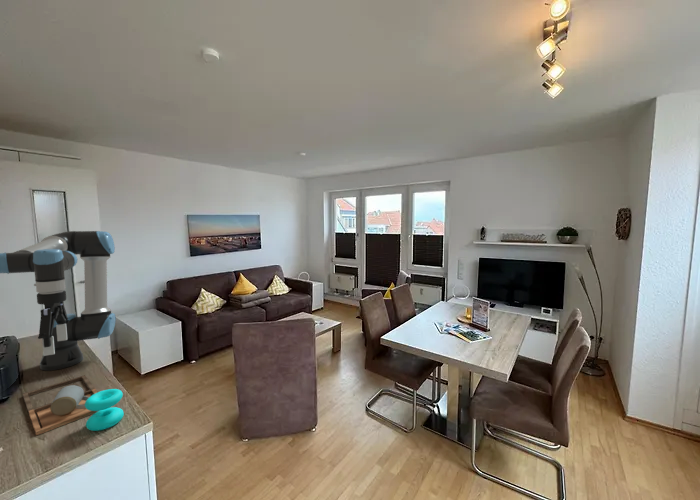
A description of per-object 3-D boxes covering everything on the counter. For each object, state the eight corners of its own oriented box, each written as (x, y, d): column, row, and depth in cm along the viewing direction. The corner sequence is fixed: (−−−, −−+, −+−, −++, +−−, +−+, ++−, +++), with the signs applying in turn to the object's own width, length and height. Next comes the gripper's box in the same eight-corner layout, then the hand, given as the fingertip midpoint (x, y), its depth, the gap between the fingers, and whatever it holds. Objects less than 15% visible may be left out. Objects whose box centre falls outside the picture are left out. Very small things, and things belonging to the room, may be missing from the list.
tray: (22, 396, 116) (22, 393, 116) (84, 377, 131) (84, 375, 130) (36, 435, 95) (35, 432, 95) (108, 407, 110) (108, 404, 109)
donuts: (119, 384, 108) (125, 395, 101) (120, 409, 109) (126, 422, 102) (82, 395, 100) (86, 407, 94) (84, 422, 101) (88, 437, 94)
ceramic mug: (49, 419, 102) (48, 398, 101) (57, 407, 109) (56, 387, 108) (89, 411, 107) (88, 391, 107) (94, 399, 114) (94, 380, 114)
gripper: (50, 285, 116) (54, 336, 119) (20, 301, 95) (27, 364, 97) (75, 283, 120) (79, 333, 122) (52, 298, 99) (58, 359, 101)
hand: (56, 347), depth 110 cm, fingers open, 13 cm apart
